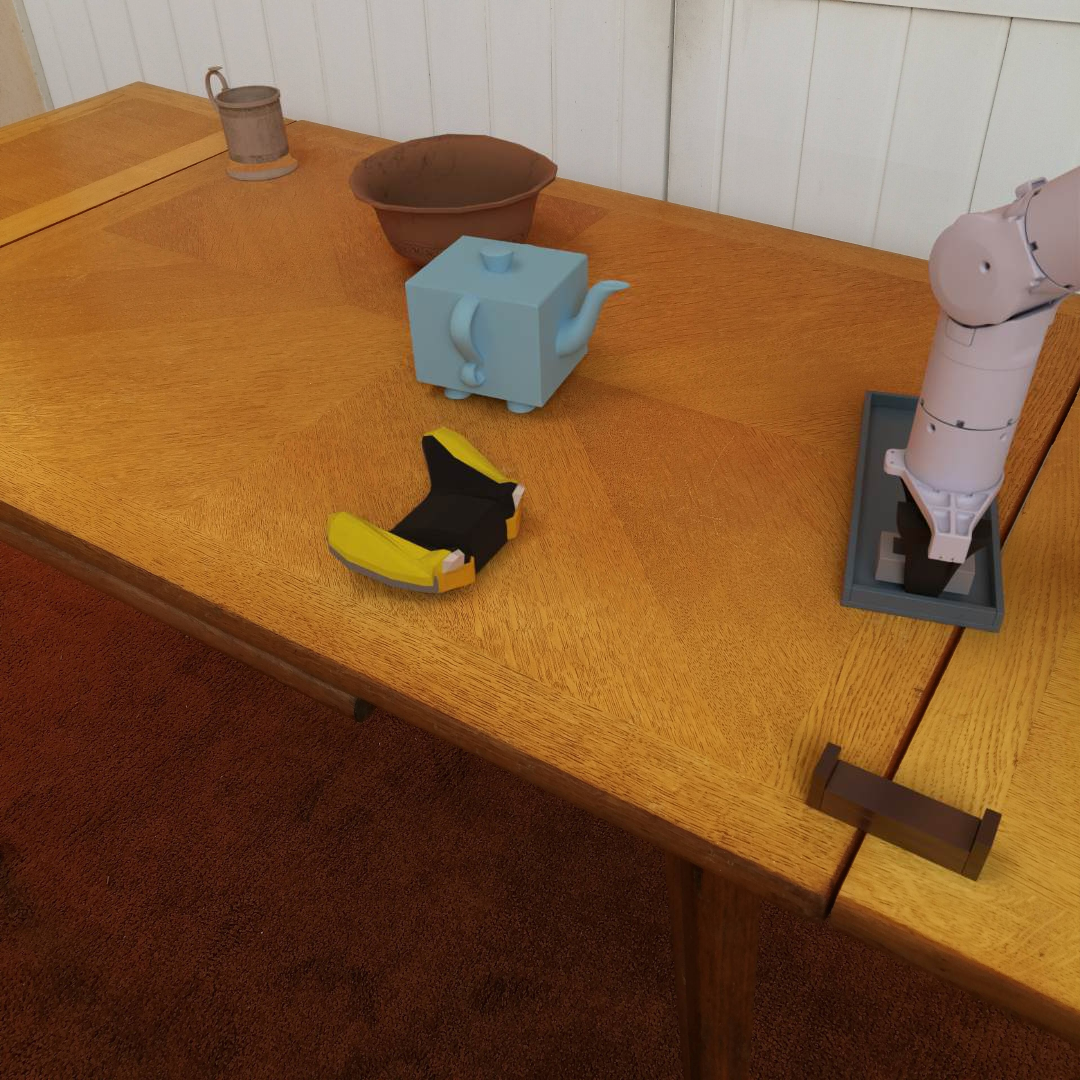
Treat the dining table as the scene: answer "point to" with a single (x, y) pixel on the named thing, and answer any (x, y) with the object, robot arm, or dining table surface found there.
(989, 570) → the tray
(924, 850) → the brown drawer handle
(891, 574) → the grey block
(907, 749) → the dining table surface
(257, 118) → the mug
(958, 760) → the dining table surface
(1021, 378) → the robot arm
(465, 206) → the bowl
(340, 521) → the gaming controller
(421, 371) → the teapot
